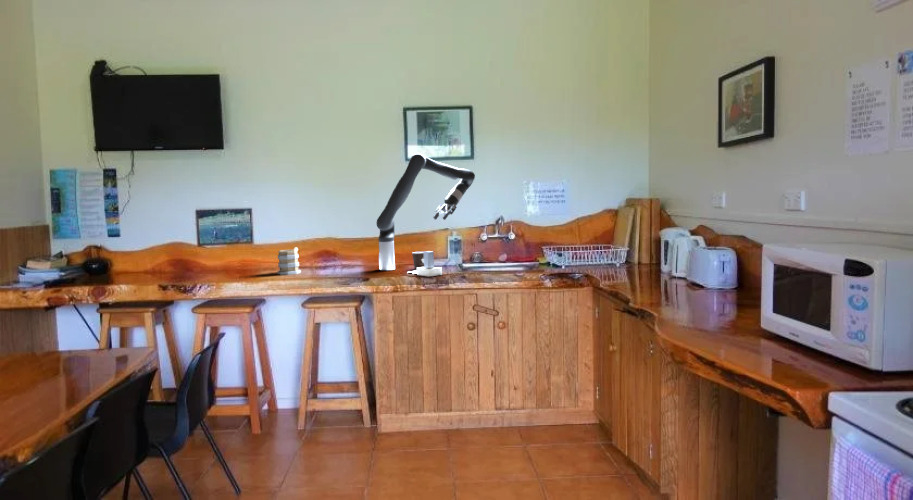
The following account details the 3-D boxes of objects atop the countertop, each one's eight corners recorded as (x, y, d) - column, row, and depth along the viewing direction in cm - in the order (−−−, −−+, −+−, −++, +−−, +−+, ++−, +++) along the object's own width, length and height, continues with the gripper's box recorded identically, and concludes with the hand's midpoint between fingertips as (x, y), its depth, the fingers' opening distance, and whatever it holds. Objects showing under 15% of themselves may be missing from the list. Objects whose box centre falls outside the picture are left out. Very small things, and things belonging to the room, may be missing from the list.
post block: (407, 273, 334) (407, 266, 333) (421, 271, 340) (420, 265, 339) (428, 276, 318) (428, 269, 318) (442, 274, 324) (441, 267, 324)
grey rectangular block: (424, 273, 326) (423, 251, 325) (430, 272, 328) (429, 251, 327) (428, 273, 323) (427, 252, 321) (434, 272, 325) (433, 251, 324)
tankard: (294, 274, 344) (292, 249, 343) (274, 274, 347) (272, 249, 345) (309, 270, 364) (307, 246, 362) (290, 270, 366) (289, 246, 365)
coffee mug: (415, 270, 348) (414, 253, 347) (410, 268, 356) (410, 252, 355) (433, 268, 352) (433, 252, 351) (428, 267, 360) (428, 251, 359)
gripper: (442, 194, 345) (427, 214, 339) (457, 193, 334) (442, 214, 328) (449, 202, 349) (435, 222, 343) (465, 202, 338) (450, 223, 332)
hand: (438, 218), depth 335 cm, fingers open, 8 cm apart
